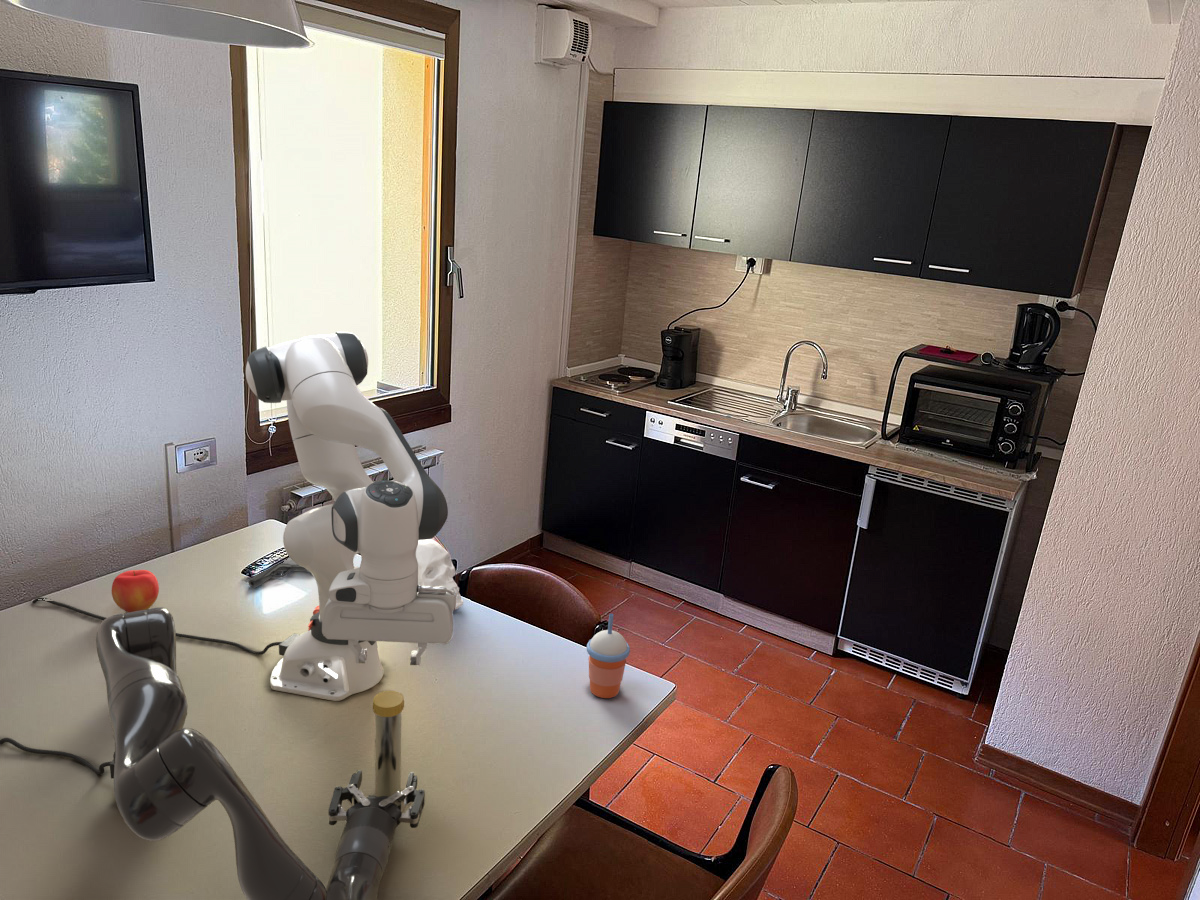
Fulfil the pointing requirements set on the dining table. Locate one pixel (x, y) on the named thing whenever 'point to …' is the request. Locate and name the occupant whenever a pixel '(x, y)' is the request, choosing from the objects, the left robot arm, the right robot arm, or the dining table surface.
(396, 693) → the lid
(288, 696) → the dining table surface
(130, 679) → the left robot arm
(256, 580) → the handgun
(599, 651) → the cup with straw
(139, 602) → the apple
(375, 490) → the right robot arm
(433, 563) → the skull
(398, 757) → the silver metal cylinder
